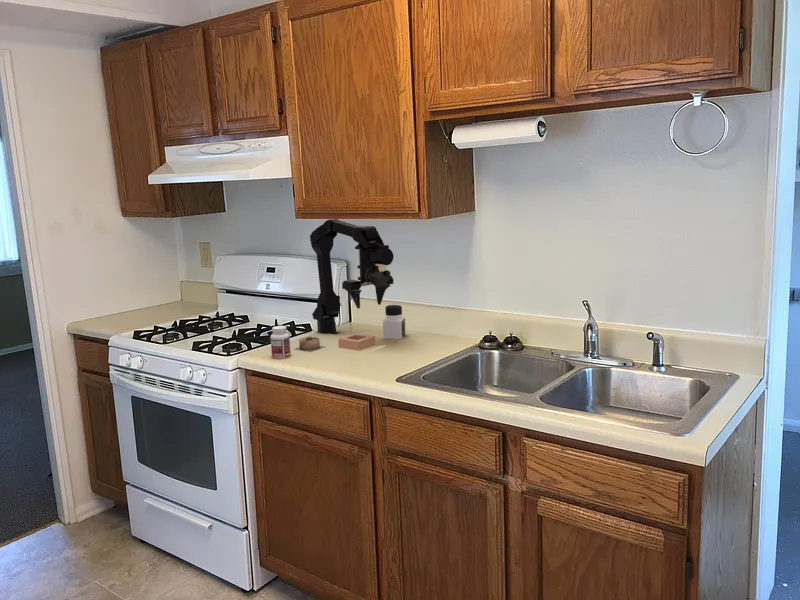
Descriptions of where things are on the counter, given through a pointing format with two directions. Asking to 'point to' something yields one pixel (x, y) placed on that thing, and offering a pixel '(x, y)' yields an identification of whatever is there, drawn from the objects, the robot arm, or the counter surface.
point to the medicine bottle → (394, 323)
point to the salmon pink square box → (356, 341)
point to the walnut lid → (309, 343)
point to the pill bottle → (280, 343)
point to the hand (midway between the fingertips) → (368, 306)
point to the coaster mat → (310, 350)
